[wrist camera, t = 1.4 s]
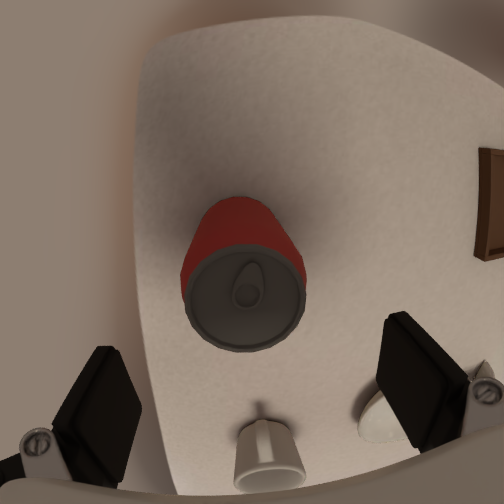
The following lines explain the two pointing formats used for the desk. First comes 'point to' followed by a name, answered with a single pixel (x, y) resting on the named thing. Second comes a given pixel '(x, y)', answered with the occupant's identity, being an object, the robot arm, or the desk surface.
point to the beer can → (243, 278)
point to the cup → (267, 459)
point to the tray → (490, 205)
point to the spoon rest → (391, 416)
